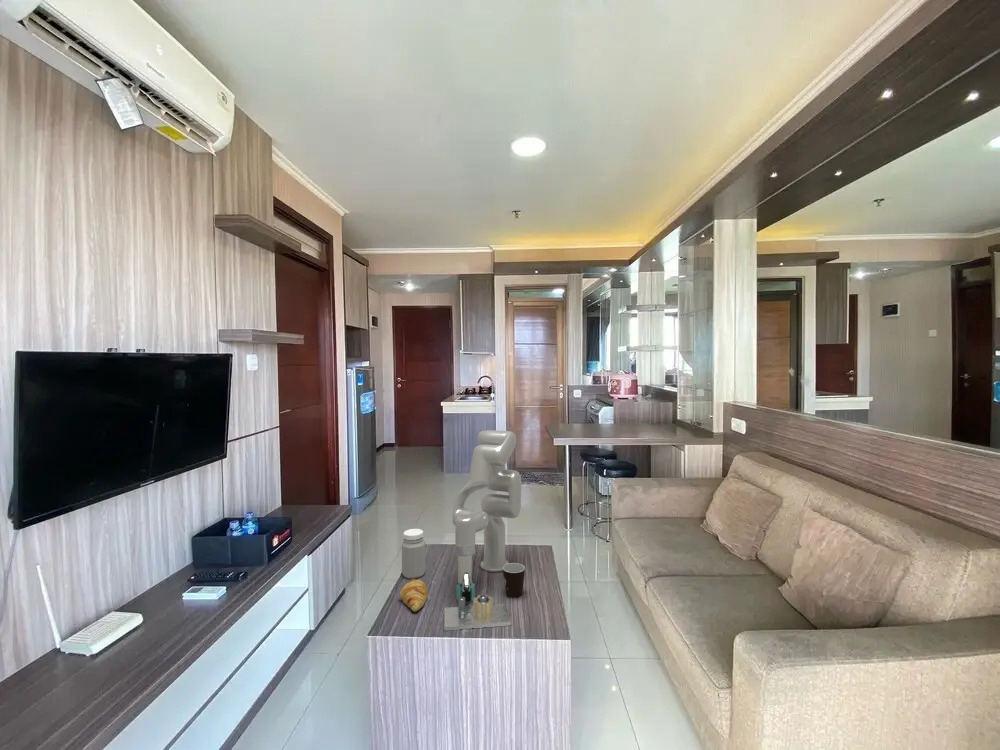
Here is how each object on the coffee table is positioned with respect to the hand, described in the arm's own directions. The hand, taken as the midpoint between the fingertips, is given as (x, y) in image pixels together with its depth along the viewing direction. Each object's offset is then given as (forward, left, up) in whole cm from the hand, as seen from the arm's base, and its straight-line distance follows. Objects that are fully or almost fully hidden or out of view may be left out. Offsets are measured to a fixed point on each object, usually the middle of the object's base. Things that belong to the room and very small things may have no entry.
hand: (465, 596), depth 161 cm
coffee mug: (-2, +19, -1) cm, 19 cm away
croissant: (-2, -19, -1) cm, 20 cm away
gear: (0, 0, -1) cm, 1 cm away
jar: (-23, -21, -1) cm, 31 cm away
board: (+14, +3, -1) cm, 14 cm away
